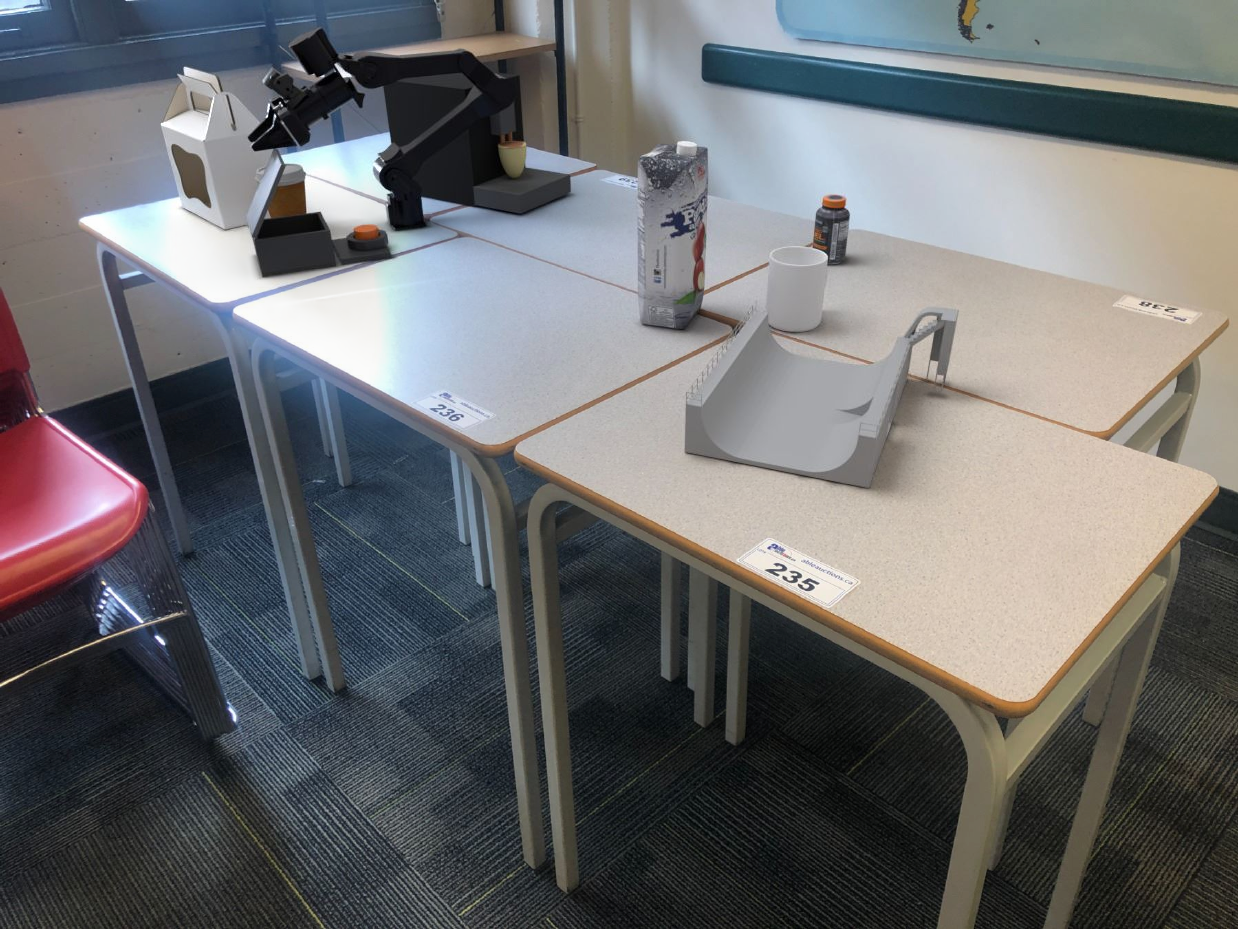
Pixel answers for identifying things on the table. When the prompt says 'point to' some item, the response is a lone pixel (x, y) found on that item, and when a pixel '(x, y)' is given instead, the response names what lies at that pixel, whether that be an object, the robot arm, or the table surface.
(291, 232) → the dark grey boxy piece
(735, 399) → the skate ramp
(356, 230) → the button
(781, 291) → the mug
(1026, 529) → the table surface
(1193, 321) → the table surface
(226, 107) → the gable box
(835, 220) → the pill bottle
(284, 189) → the disposable coffee cup
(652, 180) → the juice carton
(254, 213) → the lid
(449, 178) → the coffee maker
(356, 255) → the button base
